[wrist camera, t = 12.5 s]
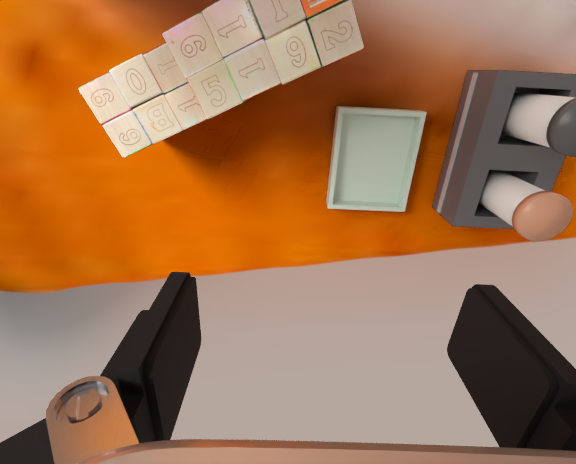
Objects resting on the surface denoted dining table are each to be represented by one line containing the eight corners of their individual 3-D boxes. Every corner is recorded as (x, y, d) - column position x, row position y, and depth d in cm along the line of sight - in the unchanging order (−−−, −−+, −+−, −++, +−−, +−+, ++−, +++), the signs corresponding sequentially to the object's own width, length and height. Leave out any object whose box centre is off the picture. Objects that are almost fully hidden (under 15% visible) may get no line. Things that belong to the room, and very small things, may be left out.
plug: (470, 162, 36) (530, 192, 27) (509, 165, 36) (582, 196, 27) (458, 200, 38) (511, 239, 29) (496, 202, 38) (559, 243, 29)
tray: (336, 105, 35) (338, 107, 33) (419, 110, 35) (426, 111, 33) (326, 202, 40) (327, 208, 38) (399, 205, 40) (404, 211, 38)
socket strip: (465, 70, 33) (496, 69, 28) (553, 75, 34) (599, 75, 29) (430, 207, 40) (450, 226, 35) (504, 210, 40) (534, 229, 35)
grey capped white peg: (492, 88, 33) (570, 94, 24) (536, 91, 33) (629, 98, 24) (479, 133, 35) (546, 155, 26) (520, 136, 35) (601, 158, 26)
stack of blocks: (159, 139, 37) (103, 168, 26) (126, 82, 34) (48, 87, 23) (340, 56, 33) (367, 48, 22) (319, -14, 30) (337, -64, 19)
